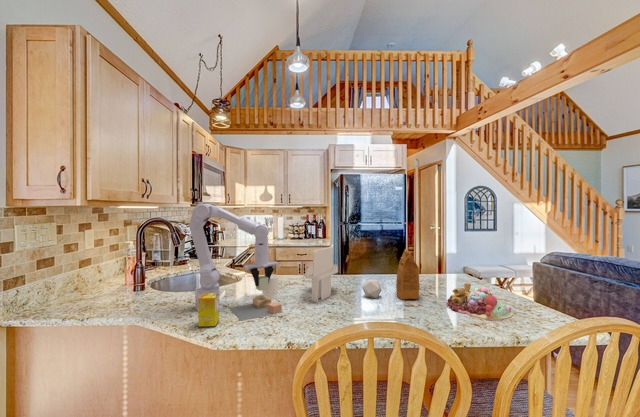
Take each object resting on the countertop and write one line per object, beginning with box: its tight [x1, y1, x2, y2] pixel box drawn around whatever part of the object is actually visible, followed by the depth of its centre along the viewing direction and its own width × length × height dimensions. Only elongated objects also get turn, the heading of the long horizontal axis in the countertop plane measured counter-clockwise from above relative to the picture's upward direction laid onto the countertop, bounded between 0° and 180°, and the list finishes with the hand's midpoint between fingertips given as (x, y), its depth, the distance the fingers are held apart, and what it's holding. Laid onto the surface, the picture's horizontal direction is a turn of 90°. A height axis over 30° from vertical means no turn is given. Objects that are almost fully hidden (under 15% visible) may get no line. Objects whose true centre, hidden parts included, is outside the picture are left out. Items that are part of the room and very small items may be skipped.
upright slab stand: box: [304, 243, 339, 303], centre depth 149 cm, size 28×21×23 cm
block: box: [267, 301, 282, 315], centre depth 126 cm, size 4×4×3 cm
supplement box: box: [197, 292, 220, 329], centre depth 113 cm, size 6×6×11 cm
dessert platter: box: [445, 282, 514, 322], centre depth 131 cm, size 25×24×9 cm
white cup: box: [261, 273, 279, 300], centre depth 146 cm, size 8×8×10 cm
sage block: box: [255, 275, 268, 292], centre depth 133 cm, size 4×4×5 cm
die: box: [361, 279, 382, 299], centre depth 147 cm, size 8×9×10 cm
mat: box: [228, 303, 283, 322], centre depth 128 cm, size 17×17×1 cm
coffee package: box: [395, 248, 421, 301], centre depth 147 cm, size 10×12×22 cm
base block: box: [252, 295, 272, 309], centre depth 134 cm, size 6×6×3 cm
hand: (261, 285), depth 133 cm, fingers closed on sage block, 4 cm apart
